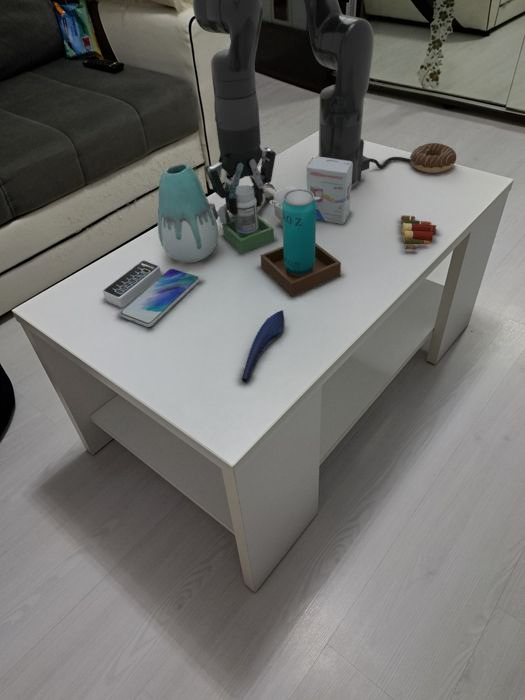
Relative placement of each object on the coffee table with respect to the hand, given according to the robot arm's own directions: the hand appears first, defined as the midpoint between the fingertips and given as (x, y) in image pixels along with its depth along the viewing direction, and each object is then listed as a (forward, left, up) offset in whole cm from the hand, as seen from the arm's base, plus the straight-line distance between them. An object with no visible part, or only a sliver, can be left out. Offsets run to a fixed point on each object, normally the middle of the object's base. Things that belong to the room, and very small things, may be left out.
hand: (245, 208), depth 98 cm
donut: (-52, -1, -7) cm, 53 cm away
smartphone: (+23, +8, -7) cm, 25 cm away
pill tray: (0, 0, -7) cm, 7 cm away
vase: (+12, -2, -7) cm, 14 cm away
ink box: (-18, +3, -7) cm, 20 cm away
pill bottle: (0, 0, -5) cm, 5 cm away
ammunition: (-26, +18, -6) cm, 32 cm away
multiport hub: (+26, +2, -7) cm, 27 cm away
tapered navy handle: (+14, +29, -7) cm, 33 cm away
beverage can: (-2, +16, -7) cm, 17 cm away
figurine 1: (-4, -8, -7) cm, 11 cm away
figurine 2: (-10, +1, -7) cm, 13 cm away
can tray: (-2, +16, -7) cm, 17 cm away
